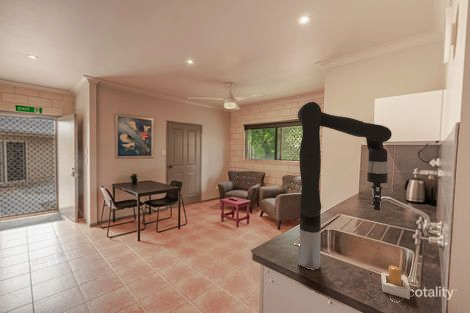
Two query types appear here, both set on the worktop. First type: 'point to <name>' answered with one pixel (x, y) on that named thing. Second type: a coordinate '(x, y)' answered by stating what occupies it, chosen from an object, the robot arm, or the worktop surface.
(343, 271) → the worktop surface
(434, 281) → the worktop surface
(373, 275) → the worktop surface
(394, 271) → the orange capsule
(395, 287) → the housing
